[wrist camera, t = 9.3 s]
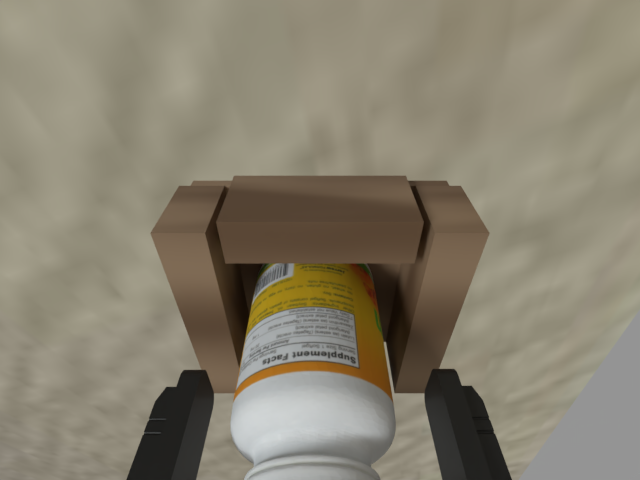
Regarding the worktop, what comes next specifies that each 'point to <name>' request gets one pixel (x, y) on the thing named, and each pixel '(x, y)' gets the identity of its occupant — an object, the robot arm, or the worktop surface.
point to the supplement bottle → (313, 376)
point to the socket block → (321, 258)
